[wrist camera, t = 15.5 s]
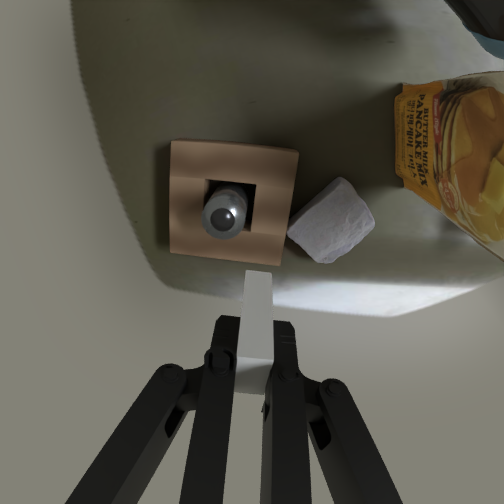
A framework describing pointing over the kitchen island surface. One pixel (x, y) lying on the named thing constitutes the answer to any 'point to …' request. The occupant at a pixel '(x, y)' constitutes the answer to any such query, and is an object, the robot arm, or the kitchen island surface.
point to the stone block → (331, 222)
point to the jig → (236, 170)
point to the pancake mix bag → (456, 151)
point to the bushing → (226, 210)
